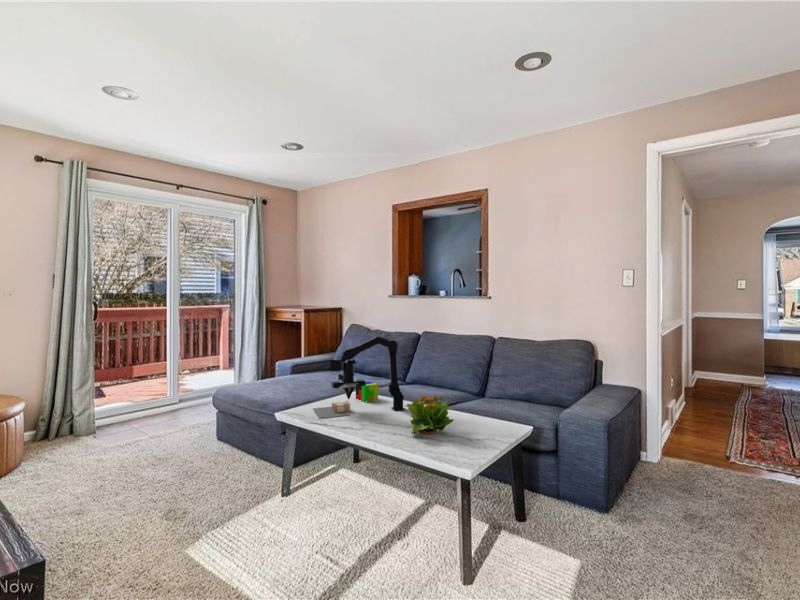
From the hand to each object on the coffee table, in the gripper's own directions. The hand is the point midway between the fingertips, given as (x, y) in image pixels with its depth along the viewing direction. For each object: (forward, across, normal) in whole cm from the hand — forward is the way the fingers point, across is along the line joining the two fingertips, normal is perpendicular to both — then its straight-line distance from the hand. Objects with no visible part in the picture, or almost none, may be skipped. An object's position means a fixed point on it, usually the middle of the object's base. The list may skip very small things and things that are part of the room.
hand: (348, 398), depth 237 cm
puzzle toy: (+7, -17, -20) cm, 27 cm away
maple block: (+4, 0, 0) cm, 4 cm away
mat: (+6, +10, 0) cm, 12 cm away
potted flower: (+7, -26, +49) cm, 56 cm away
